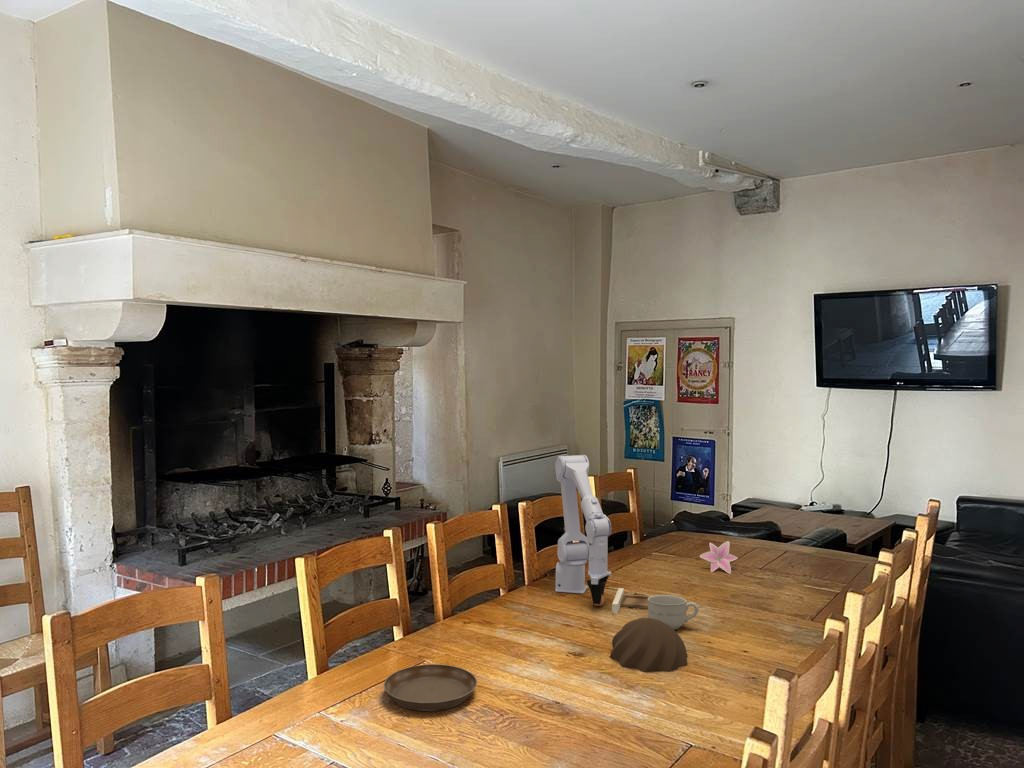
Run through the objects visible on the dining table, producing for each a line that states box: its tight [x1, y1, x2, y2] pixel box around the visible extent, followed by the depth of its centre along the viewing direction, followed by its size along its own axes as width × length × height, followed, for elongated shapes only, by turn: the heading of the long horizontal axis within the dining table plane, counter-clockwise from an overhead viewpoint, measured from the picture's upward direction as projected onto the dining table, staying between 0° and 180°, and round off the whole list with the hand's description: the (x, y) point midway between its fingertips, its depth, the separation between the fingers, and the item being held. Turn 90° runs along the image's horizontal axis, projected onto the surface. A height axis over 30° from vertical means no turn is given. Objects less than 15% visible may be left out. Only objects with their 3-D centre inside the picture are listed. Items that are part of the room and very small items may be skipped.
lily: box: [699, 540, 738, 574], centre depth 269 cm, size 12×12×10 cm
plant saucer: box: [383, 663, 478, 712], centre depth 166 cm, size 21×21×3 cm
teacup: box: [647, 594, 699, 631], centre depth 209 cm, size 14×11×8 cm
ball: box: [591, 594, 605, 607], centre depth 228 cm, size 4×4×4 cm
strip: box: [611, 587, 625, 615], centre depth 228 cm, size 2×16×3 cm, turn 165°
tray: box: [620, 594, 650, 610], centre depth 230 cm, size 9×9×1 cm
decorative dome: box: [609, 617, 689, 673], centre depth 188 cm, size 19×20×10 cm
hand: (597, 601), depth 228 cm, fingers closed on ball, 4 cm apart
